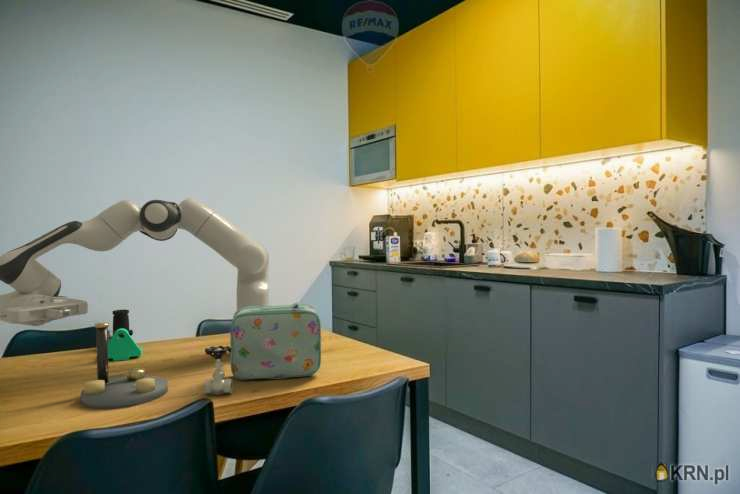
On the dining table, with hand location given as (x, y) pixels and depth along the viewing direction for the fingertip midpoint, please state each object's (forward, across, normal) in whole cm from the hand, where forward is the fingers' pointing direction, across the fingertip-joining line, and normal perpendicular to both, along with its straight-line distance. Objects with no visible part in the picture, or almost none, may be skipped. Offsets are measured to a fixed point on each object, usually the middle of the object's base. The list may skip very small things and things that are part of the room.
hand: (65, 313), depth 130 cm
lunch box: (+48, +31, +20) cm, 61 cm away
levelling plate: (+22, +2, +20) cm, 29 cm away
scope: (-27, +38, +20) cm, 51 cm away
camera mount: (-14, +28, +20) cm, 37 cm away
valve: (+44, +11, +20) cm, 49 cm away
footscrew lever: (+16, +4, +18) cm, 24 cm away
